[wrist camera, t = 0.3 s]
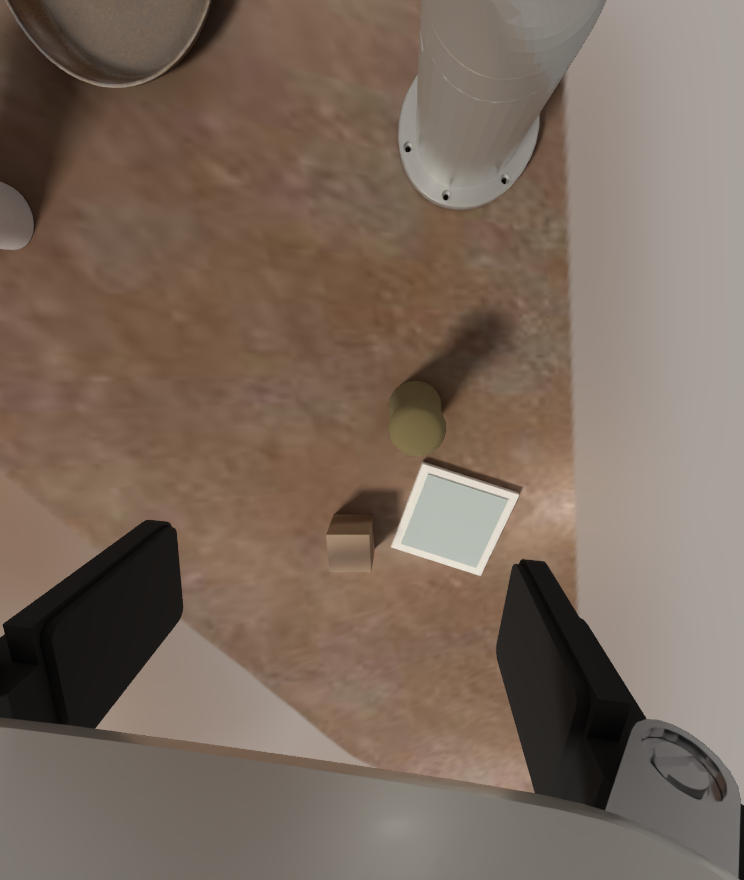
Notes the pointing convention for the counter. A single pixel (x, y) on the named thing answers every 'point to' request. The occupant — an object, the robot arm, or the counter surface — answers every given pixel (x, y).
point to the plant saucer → (113, 36)
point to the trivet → (453, 518)
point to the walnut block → (351, 543)
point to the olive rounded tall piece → (416, 418)
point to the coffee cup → (14, 219)
